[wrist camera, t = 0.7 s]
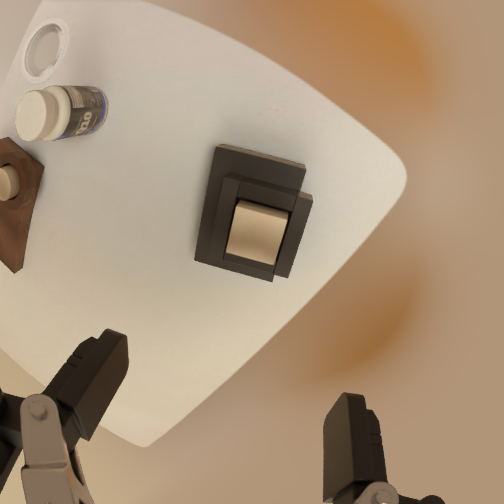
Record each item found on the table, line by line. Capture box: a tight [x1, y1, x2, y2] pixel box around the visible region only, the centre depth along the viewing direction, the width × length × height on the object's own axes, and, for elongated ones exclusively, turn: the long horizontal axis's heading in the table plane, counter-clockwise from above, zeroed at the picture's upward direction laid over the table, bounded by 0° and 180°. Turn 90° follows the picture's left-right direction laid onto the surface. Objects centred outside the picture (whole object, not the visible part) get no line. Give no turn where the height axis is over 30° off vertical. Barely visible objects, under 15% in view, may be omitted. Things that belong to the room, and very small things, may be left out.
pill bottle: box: [15, 86, 108, 141], centre depth 20 cm, size 5×5×8 cm
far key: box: [0, 165, 20, 201], centre depth 24 cm, size 4×4×2 cm
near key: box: [226, 200, 288, 265], centre depth 22 cm, size 4×4×2 cm
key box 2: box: [194, 144, 313, 282], centre depth 25 cm, size 10×8×4 cm
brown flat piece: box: [0, 137, 44, 274], centre depth 28 cm, size 17×9×4 cm, turn 145°
